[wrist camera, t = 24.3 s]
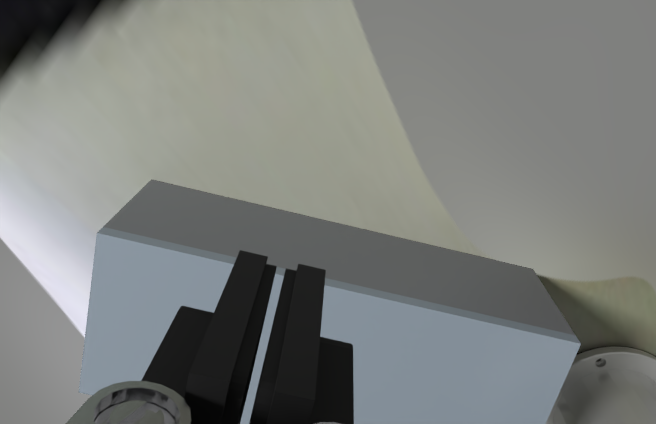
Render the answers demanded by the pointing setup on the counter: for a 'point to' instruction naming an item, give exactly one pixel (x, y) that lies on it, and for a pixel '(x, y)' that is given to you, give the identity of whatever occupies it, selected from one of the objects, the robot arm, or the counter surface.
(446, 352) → the cover
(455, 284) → the grey bridge shelf
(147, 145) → the counter surface
